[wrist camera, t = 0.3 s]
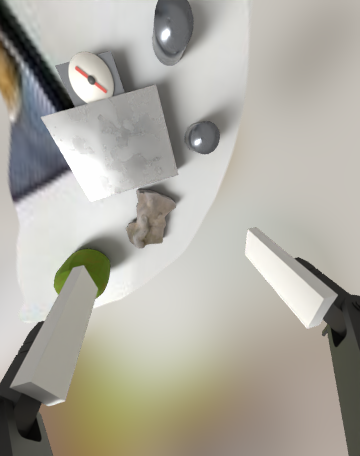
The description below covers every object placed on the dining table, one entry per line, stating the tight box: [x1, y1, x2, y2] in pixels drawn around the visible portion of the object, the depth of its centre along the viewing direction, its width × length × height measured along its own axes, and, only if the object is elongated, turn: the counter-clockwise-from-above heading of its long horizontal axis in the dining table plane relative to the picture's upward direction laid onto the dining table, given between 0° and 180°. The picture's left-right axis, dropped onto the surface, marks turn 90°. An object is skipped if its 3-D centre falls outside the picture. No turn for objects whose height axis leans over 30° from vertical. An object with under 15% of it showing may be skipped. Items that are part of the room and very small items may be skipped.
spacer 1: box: [153, 0, 193, 66], centre depth 23 cm, size 5×5×6 cm
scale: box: [55, 51, 125, 107], centre depth 28 cm, size 20×18×4 cm
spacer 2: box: [185, 121, 220, 154], centre depth 31 cm, size 5×5×6 cm
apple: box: [54, 249, 110, 299], centre depth 38 cm, size 11×11×11 cm
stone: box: [126, 189, 176, 248], centre depth 39 cm, size 15×10×4 cm, turn 159°
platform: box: [41, 85, 178, 201], centre depth 28 cm, size 14×18×1 cm
